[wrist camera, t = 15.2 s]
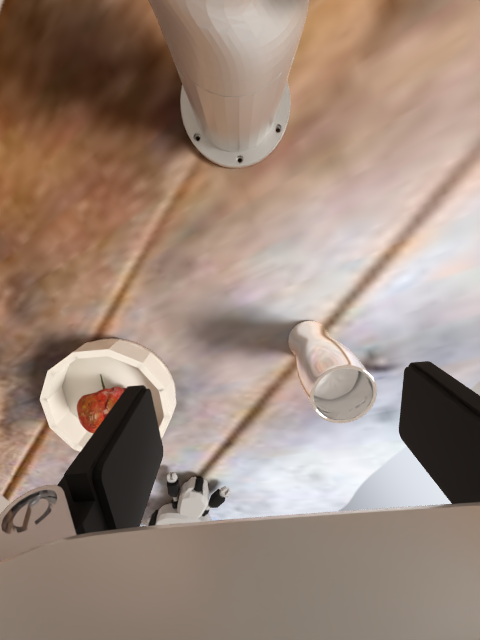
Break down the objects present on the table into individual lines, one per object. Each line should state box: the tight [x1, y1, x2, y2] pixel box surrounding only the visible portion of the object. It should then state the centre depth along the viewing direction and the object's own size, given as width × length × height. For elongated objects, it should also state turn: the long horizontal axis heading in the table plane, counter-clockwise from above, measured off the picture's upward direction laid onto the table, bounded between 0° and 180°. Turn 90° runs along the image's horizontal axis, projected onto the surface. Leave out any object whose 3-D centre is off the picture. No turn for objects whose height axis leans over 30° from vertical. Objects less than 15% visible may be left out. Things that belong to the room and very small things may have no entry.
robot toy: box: [147, 472, 230, 526], centre depth 50 cm, size 12×4×15 cm
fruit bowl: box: [40, 338, 176, 452], centre depth 42 cm, size 18×18×4 cm
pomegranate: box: [77, 374, 126, 434], centre depth 40 cm, size 7×7×10 cm
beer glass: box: [288, 321, 377, 423], centre depth 35 cm, size 7×7×15 cm
